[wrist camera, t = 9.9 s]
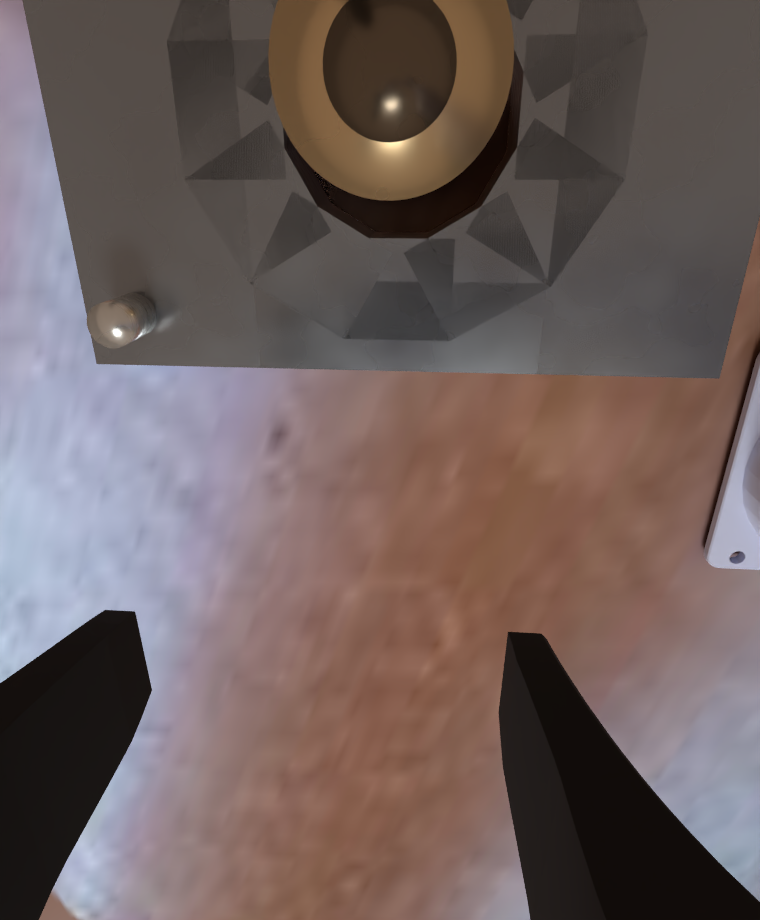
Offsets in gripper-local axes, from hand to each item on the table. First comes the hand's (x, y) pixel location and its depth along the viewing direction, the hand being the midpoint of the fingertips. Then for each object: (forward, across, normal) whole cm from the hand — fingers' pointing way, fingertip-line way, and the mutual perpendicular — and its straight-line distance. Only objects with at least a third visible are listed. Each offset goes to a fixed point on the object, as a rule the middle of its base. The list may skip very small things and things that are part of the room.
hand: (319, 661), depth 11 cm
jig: (+10, -1, -10) cm, 14 cm away
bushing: (+10, -1, -10) cm, 15 cm away
